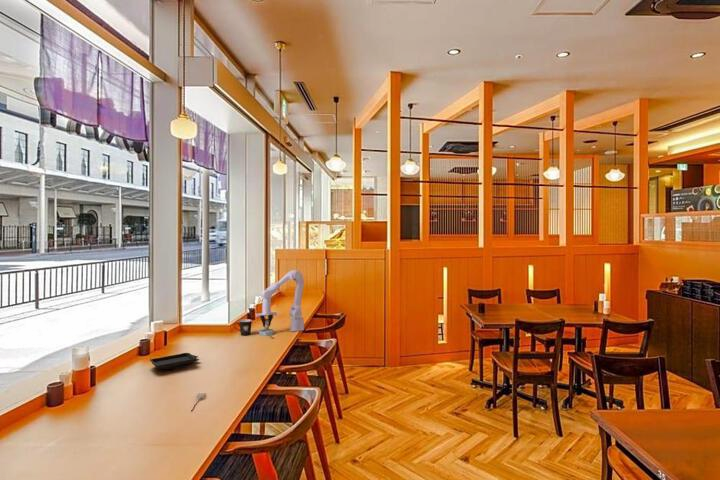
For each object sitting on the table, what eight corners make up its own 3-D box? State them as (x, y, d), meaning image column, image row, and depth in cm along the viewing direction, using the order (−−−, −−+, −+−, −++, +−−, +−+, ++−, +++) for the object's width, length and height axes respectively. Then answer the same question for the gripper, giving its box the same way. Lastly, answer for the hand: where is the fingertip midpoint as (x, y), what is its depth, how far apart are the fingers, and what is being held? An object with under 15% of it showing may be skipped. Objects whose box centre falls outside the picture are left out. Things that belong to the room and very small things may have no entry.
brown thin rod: (268, 335, 292) (268, 334, 292) (269, 335, 292) (269, 334, 292) (272, 339, 283) (272, 337, 283) (274, 338, 283) (274, 337, 283)
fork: (184, 419, 170) (183, 413, 169) (201, 393, 190) (201, 388, 190) (191, 419, 170) (191, 413, 169) (207, 393, 190) (207, 388, 190)
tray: (171, 357, 243) (170, 348, 243) (209, 358, 241) (209, 349, 241) (138, 375, 213) (138, 365, 213) (182, 377, 211) (182, 366, 211)
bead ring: (271, 331, 304) (271, 328, 304) (275, 334, 295) (275, 331, 295) (257, 333, 299) (257, 329, 299) (261, 336, 290) (261, 332, 290)
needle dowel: (268, 328, 299) (268, 318, 299) (269, 329, 296) (269, 319, 296) (263, 328, 297) (263, 319, 297) (265, 329, 294) (265, 319, 294)
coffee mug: (253, 333, 298) (253, 319, 297) (249, 336, 289) (249, 322, 289) (237, 332, 299) (237, 319, 299) (233, 336, 290) (233, 321, 290)
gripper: (274, 305, 303) (274, 323, 304) (254, 306, 296) (254, 326, 297) (277, 306, 297) (277, 325, 298) (257, 308, 290) (257, 328, 291)
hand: (266, 326), depth 297 cm, fingers closed on needle dowel, 3 cm apart
